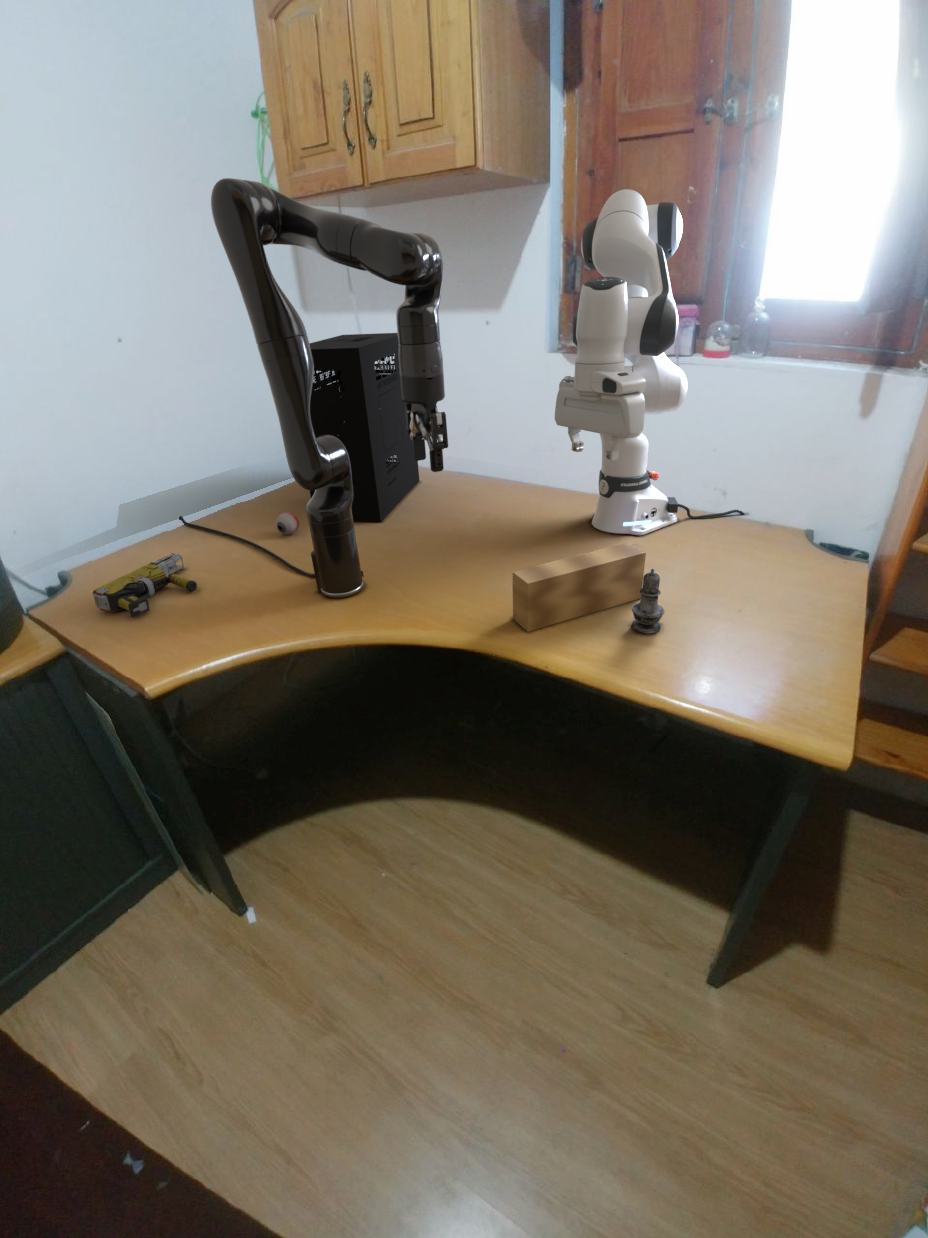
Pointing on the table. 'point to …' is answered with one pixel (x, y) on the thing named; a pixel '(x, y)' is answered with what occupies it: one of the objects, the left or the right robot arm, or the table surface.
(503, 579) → the table surface
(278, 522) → the eyeball
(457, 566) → the table surface
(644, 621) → the grey chess piece
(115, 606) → the toy gun
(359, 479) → the cardboard box
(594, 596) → the box
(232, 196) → the left robot arm
